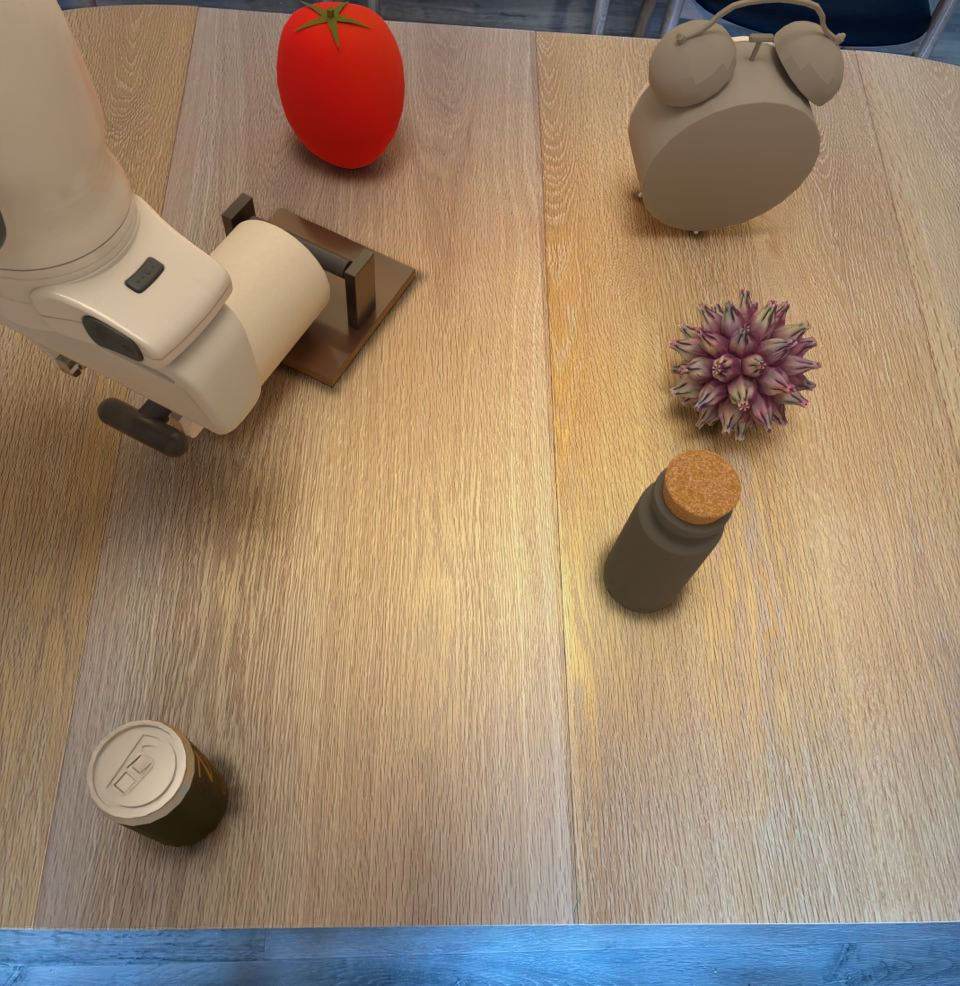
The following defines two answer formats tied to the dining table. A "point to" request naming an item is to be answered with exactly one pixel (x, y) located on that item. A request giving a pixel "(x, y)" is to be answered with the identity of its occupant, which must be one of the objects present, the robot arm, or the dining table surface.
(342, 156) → the tomato
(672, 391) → the flower
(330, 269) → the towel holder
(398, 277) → the holder base
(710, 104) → the alarm clock
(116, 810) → the beer can
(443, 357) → the dining table surface
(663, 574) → the bottle
